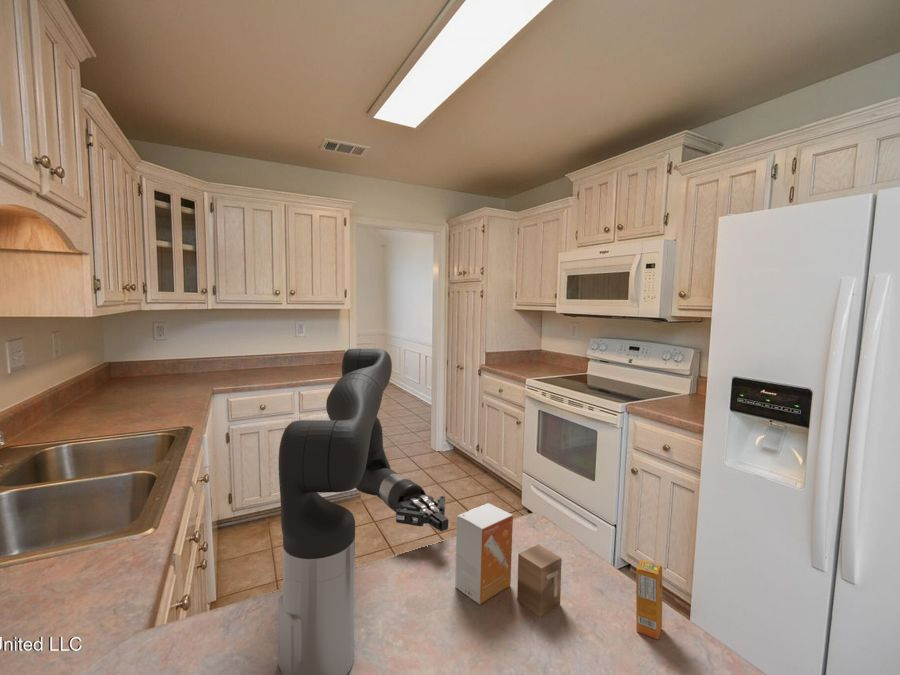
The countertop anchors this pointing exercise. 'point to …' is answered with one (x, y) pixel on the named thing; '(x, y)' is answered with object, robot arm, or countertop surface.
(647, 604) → the supplement box
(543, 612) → the walnut digit block
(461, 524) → the small box
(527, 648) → the countertop surface
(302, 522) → the robot arm
